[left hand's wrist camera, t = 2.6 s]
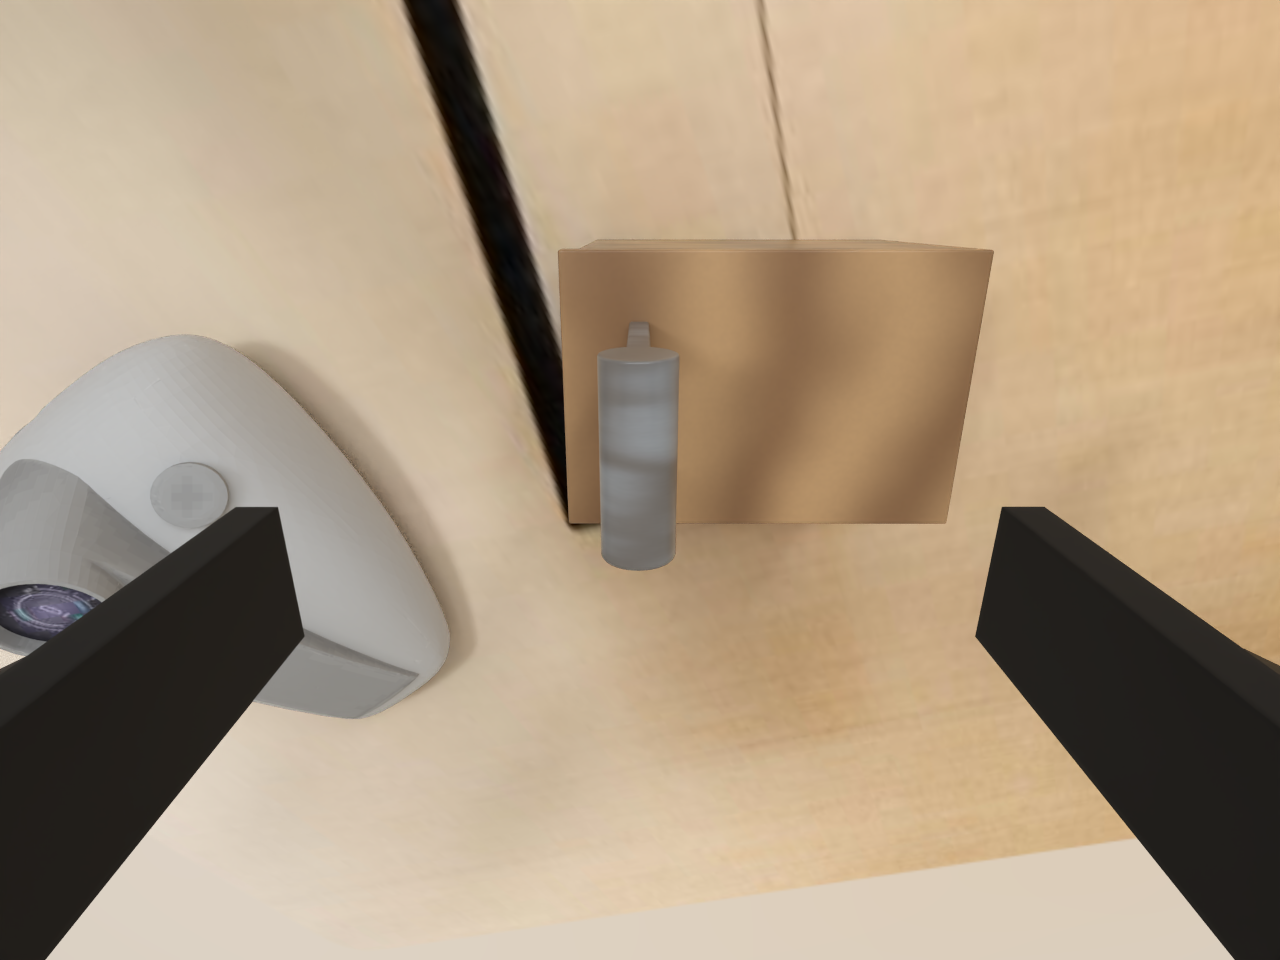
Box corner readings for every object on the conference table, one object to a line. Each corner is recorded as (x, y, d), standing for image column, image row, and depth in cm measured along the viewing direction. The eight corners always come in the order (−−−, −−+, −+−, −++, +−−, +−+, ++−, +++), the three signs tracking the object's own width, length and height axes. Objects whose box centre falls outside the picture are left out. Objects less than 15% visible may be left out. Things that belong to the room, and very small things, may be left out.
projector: (109, 669, 44) (-131, 873, 30) (28, 304, 36) (-352, 357, 22) (456, 695, 44) (375, 906, 31) (454, 343, 36) (343, 418, 23)
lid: (570, 514, 28) (540, 641, 20) (560, 248, 24) (517, 264, 16) (937, 514, 28) (1064, 641, 20) (982, 249, 24) (1163, 264, 16)
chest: (600, 434, 38) (585, 513, 28) (595, 239, 35) (576, 248, 24) (857, 434, 38) (936, 514, 28) (880, 239, 35) (981, 248, 24)
